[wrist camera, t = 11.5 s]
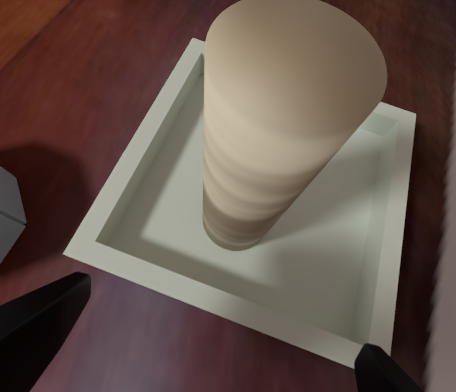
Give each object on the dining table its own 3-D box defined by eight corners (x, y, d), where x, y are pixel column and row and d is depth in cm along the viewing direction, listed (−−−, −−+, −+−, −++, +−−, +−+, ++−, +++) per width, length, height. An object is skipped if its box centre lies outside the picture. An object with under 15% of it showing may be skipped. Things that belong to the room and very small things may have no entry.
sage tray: (358, 370, 17) (387, 381, 14) (83, 262, 18) (62, 254, 15) (392, 135, 23) (416, 114, 21) (193, 66, 24) (192, 37, 22)
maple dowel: (231, 265, 17) (296, 170, 5) (189, 212, 19) (166, 35, 7) (281, 223, 19) (422, 73, 7) (239, 176, 20) (298, -27, 8)
